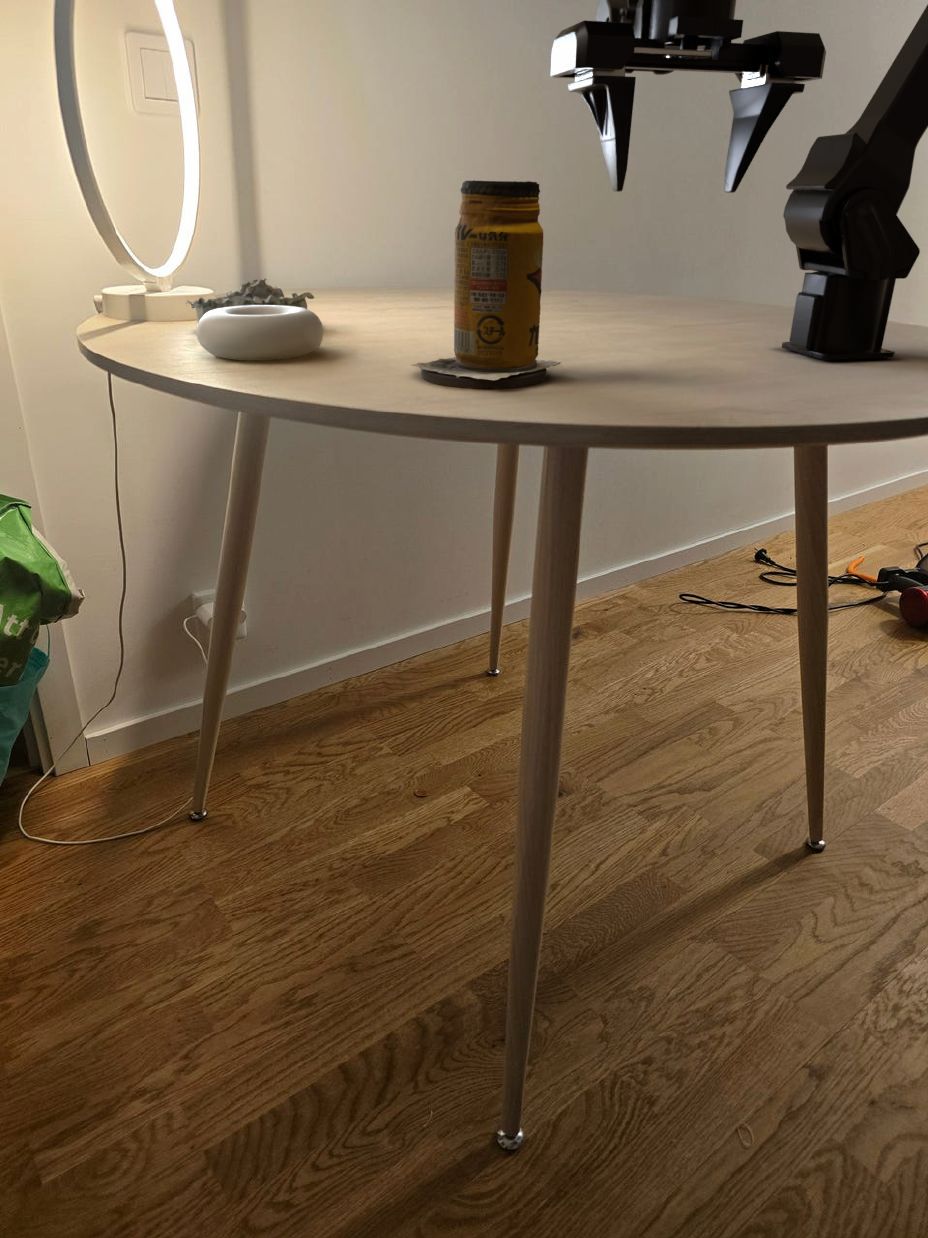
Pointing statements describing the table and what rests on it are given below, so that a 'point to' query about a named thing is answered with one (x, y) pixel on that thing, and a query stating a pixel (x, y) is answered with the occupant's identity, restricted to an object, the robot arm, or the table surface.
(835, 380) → the table surface
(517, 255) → the condiment
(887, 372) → the table surface
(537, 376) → the coaster
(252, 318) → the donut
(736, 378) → the table surface
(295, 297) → the grey crumpled piece
